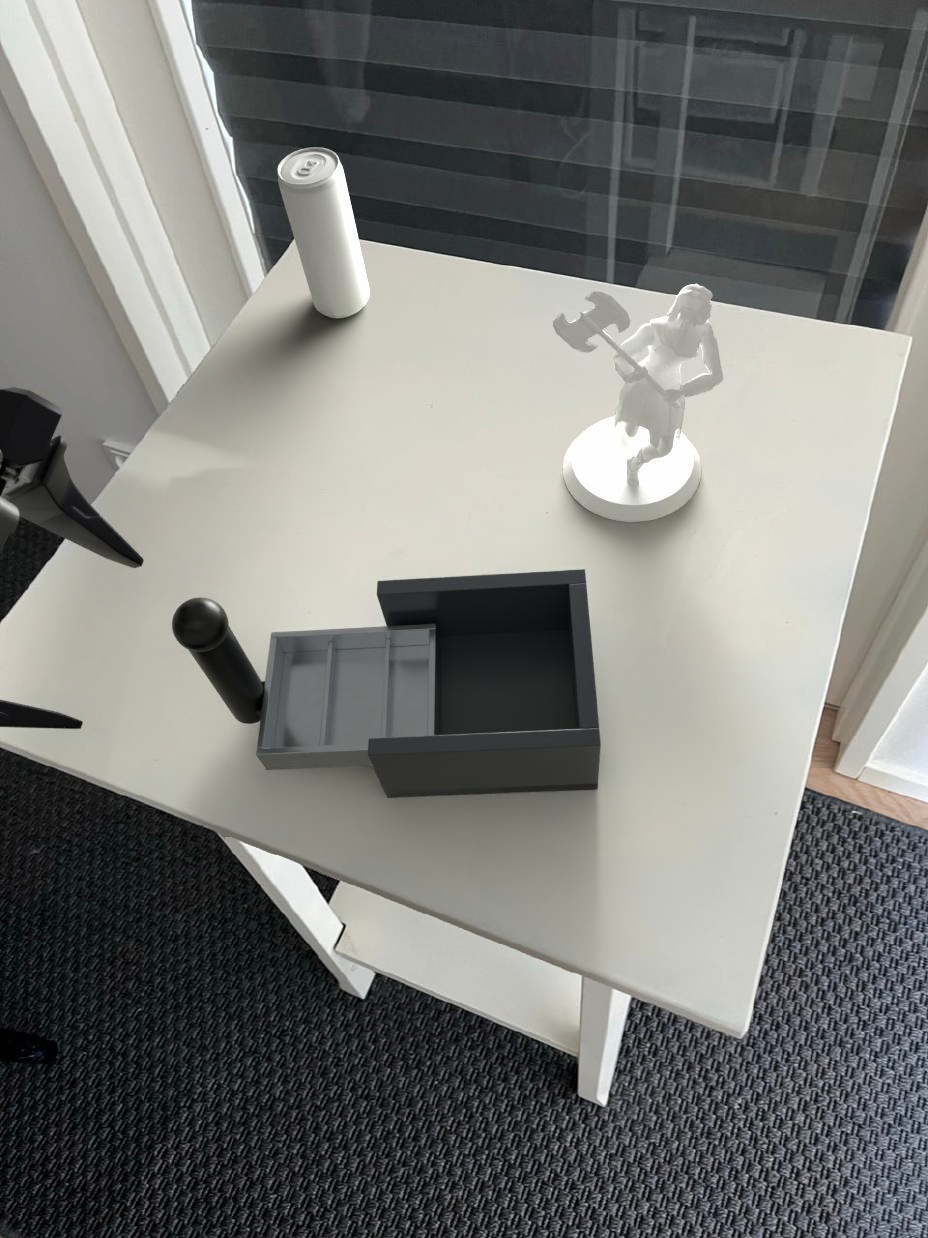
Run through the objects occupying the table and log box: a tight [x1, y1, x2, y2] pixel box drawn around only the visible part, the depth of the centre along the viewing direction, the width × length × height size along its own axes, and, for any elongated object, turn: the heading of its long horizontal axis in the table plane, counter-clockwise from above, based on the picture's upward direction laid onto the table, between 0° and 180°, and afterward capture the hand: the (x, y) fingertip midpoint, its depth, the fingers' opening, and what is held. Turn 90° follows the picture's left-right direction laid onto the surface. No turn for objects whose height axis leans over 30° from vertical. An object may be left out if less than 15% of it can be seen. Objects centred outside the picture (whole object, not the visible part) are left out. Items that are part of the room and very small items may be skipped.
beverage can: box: [276, 146, 371, 319], centre depth 72 cm, size 5×5×12 cm
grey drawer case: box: [368, 568, 602, 799], centre depth 53 cm, size 12×11×6 cm
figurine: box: [552, 282, 724, 523], centre depth 57 cm, size 10×10×18 cm
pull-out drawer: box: [171, 596, 440, 771], centre depth 51 cm, size 13×8×11 cm, turn 90°
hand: (110, 642), depth 49 cm, fingers open, 9 cm apart
